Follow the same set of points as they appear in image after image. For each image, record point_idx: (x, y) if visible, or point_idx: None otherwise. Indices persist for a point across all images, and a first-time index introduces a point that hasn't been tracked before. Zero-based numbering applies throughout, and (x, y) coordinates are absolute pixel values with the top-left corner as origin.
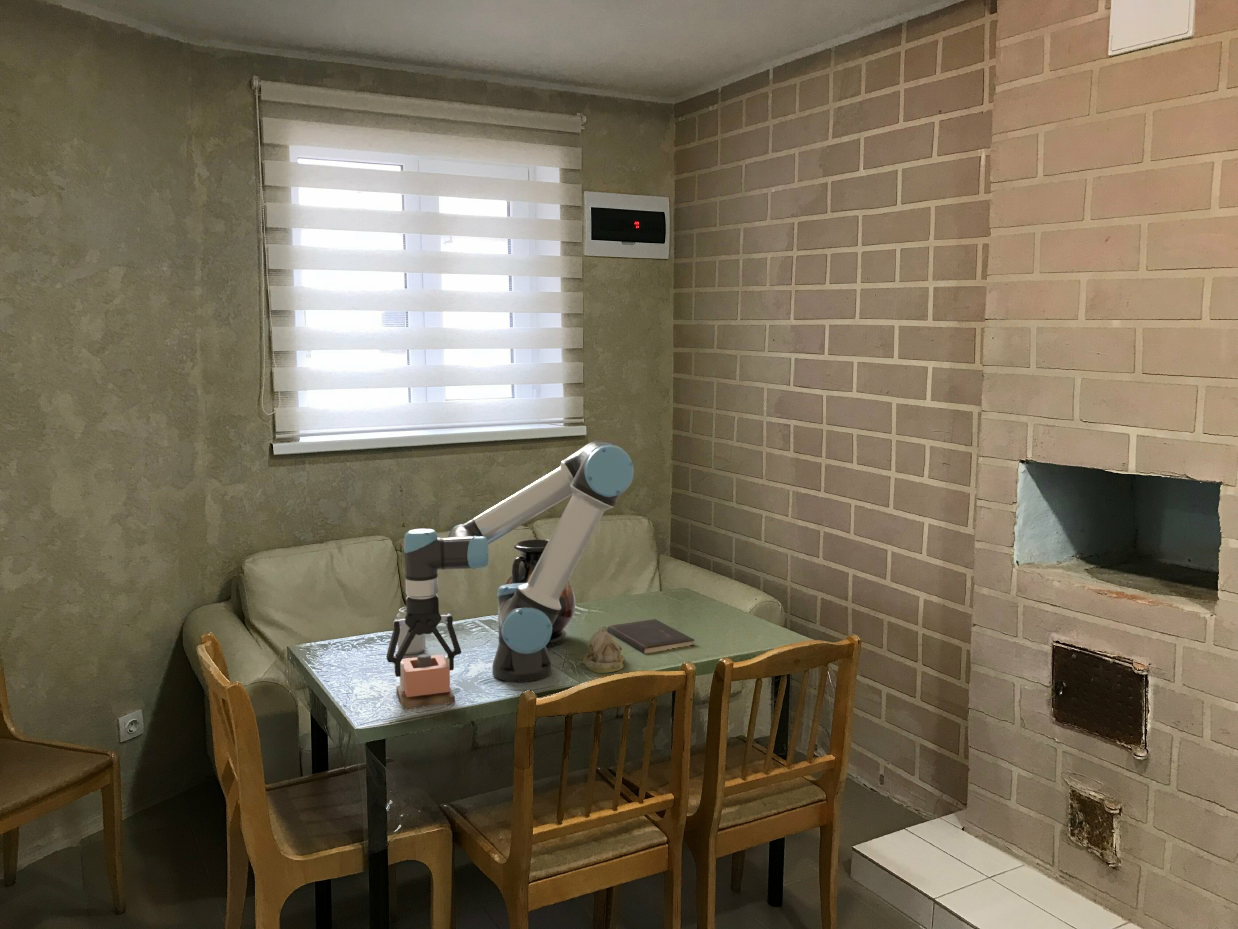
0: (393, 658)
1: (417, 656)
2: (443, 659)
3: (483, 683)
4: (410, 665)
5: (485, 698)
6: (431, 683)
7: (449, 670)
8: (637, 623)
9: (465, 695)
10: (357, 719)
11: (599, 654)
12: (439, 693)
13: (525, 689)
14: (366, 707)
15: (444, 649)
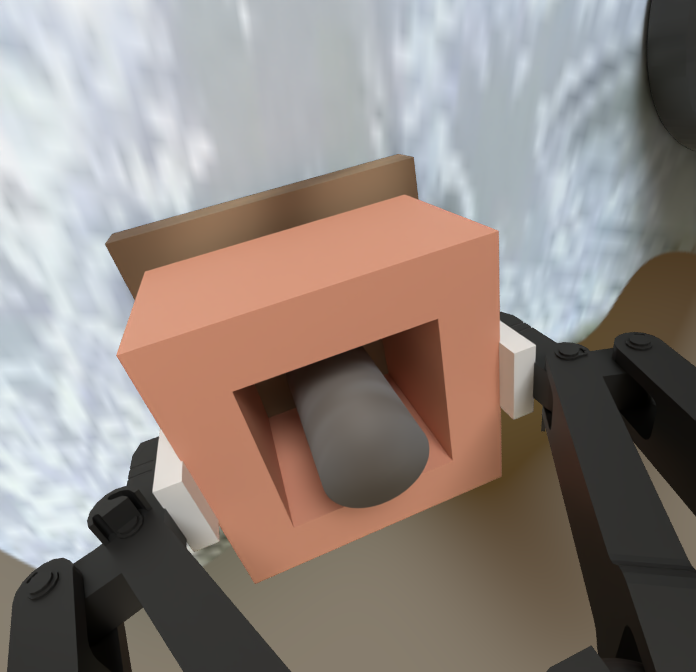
0: (122, 614)
1: (322, 470)
2: (492, 356)
3: (571, 137)
4: (262, 486)
5: (534, 328)
6: None
7: None
8: None
9: None
10: (44, 554)
11: None
12: (378, 359)
13: (680, 240)
14: (17, 446)
15: (559, 473)
